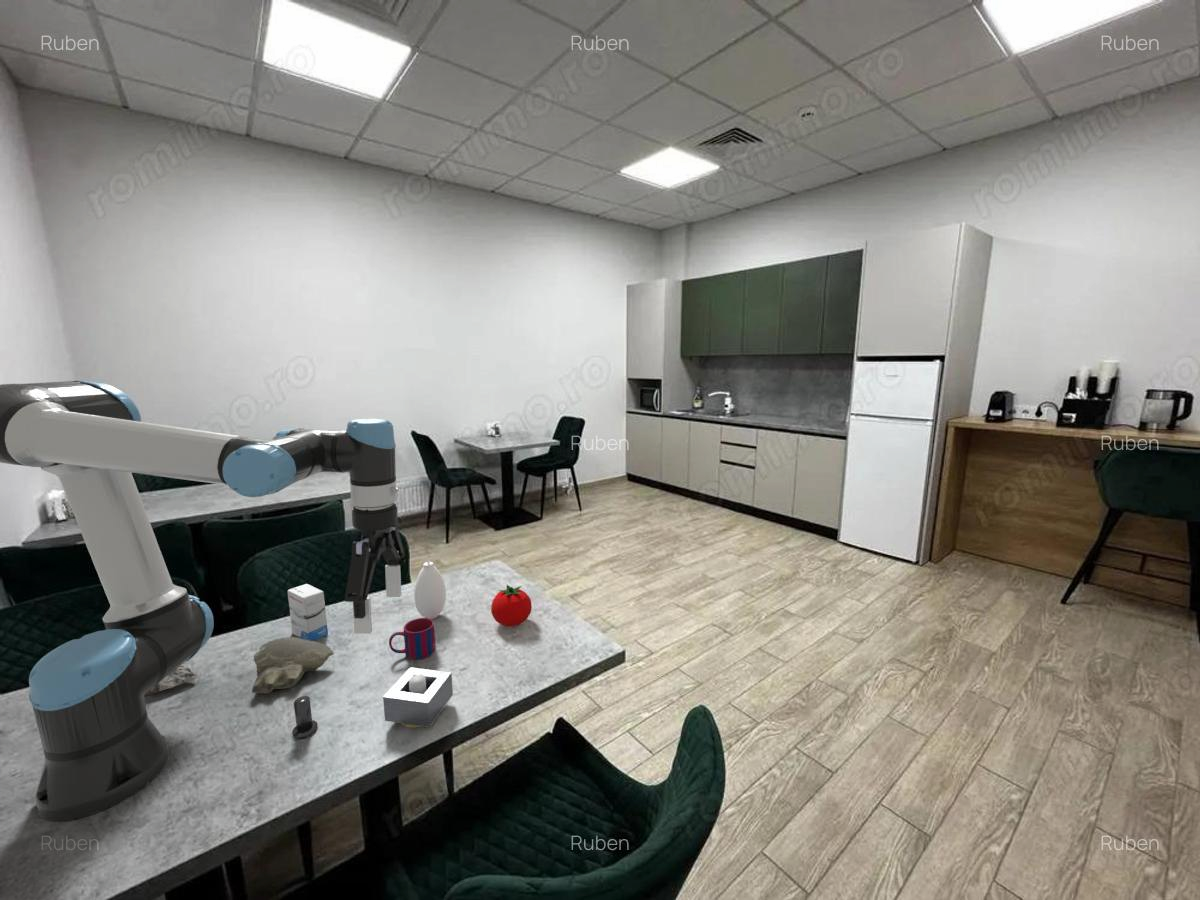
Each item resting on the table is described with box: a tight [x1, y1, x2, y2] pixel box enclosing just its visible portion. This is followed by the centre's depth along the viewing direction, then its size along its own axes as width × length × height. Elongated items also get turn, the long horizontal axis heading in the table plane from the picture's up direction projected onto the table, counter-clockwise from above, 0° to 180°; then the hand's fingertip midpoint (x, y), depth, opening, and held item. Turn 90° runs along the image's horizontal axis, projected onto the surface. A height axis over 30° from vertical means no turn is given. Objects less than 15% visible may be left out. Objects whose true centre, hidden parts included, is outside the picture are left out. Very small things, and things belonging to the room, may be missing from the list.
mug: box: [388, 617, 437, 661], centre depth 114 cm, size 7×10×7 cm
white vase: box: [413, 553, 447, 620], centre depth 129 cm, size 8×8×18 cm
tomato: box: [490, 584, 532, 628], centre depth 127 cm, size 10×10×10 cm
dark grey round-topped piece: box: [291, 695, 319, 740], centre depth 90 cm, size 4×4×6 cm
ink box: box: [287, 583, 329, 641], centre depth 122 cm, size 8×5×12 cm, turn 58°
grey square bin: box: [382, 667, 454, 728], centre depth 94 cm, size 9×9×5 cm
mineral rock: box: [144, 665, 198, 696], centre depth 103 cm, size 15×8×4 cm, turn 73°
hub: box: [401, 674, 426, 728], centre depth 94 cm, size 7×7×8 cm
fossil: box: [251, 636, 335, 694], centre depth 105 cm, size 14×10×10 cm
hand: (379, 613), depth 92 cm, fingers open, 13 cm apart
